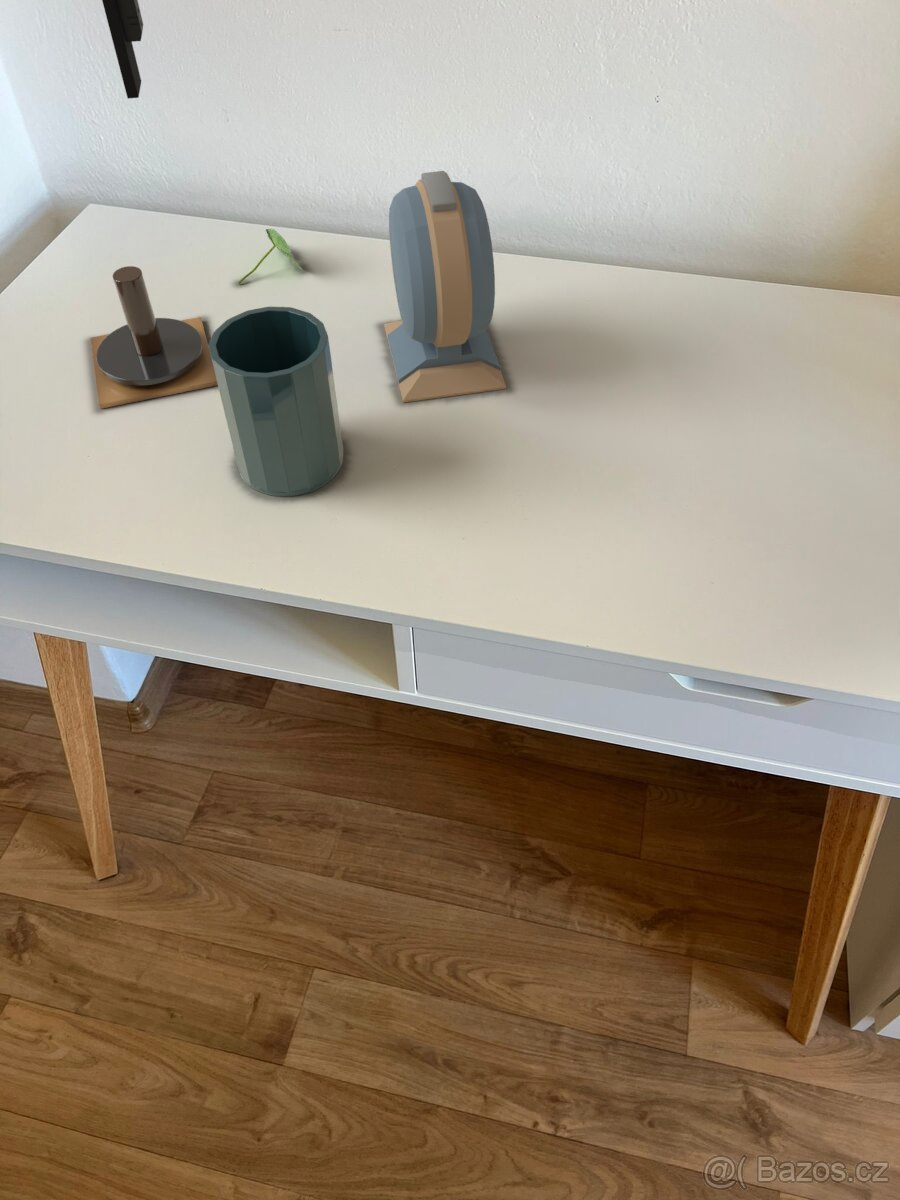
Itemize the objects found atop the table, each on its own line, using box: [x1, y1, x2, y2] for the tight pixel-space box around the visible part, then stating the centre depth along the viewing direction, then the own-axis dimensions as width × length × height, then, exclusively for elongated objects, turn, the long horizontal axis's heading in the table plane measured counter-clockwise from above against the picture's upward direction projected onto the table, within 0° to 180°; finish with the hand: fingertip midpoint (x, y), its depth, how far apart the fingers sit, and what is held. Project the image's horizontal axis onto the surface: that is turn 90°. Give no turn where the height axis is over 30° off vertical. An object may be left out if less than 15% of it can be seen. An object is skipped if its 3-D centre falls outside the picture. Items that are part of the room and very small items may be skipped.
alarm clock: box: [383, 170, 507, 403], centre depth 91 cm, size 14×10×18 cm
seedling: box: [237, 222, 303, 285], centre depth 106 cm, size 7×8×7 cm
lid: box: [96, 265, 203, 386], centre depth 94 cm, size 10×10×9 cm
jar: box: [208, 306, 344, 497], centre depth 83 cm, size 9×9×12 cm
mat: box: [90, 316, 218, 410], centre depth 97 cm, size 11×11×1 cm
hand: (36, 97), depth 70 cm, fingers open, 13 cm apart
